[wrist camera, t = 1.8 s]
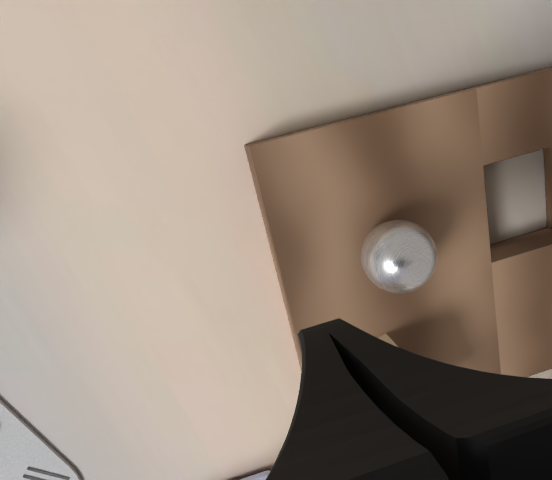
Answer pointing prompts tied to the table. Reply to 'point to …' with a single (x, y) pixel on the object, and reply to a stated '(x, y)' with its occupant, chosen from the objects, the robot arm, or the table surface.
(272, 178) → the board
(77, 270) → the table surface
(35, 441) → the handheld gaming device
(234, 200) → the table surface
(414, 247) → the ball
